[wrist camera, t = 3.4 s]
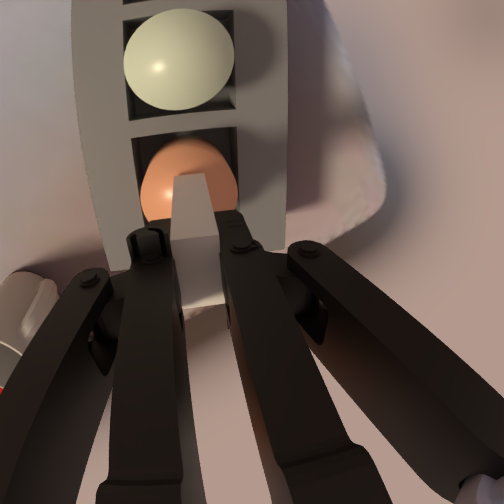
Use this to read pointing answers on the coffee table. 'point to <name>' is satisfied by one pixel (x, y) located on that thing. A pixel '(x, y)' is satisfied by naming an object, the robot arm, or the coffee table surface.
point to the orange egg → (184, 163)
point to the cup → (22, 315)
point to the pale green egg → (178, 59)
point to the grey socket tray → (182, 114)
